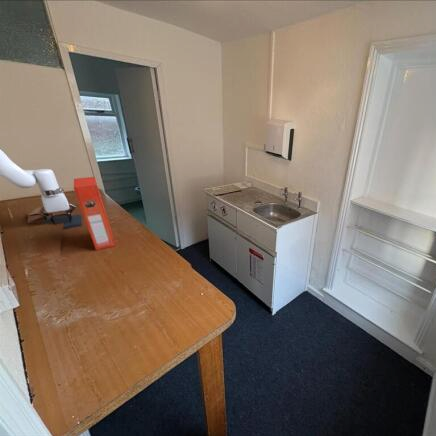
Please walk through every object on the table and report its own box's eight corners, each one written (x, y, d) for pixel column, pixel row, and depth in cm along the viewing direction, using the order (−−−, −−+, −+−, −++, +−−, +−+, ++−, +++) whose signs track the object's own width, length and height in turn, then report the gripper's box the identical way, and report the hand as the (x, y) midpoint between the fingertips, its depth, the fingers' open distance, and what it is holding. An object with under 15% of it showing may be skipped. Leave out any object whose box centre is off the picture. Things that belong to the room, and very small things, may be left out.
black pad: (55, 225, 131) (53, 218, 130) (56, 221, 136) (53, 215, 134) (69, 222, 135) (67, 216, 133) (70, 219, 139) (67, 213, 137)
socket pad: (42, 233, 125) (41, 230, 125) (45, 222, 137) (44, 219, 136) (81, 225, 135) (80, 223, 134) (81, 216, 146) (80, 214, 145)
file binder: (95, 250, 112) (73, 187, 100) (93, 236, 124) (73, 178, 111) (115, 245, 117) (97, 184, 104) (112, 232, 129) (95, 176, 116)
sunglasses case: (25, 214, 144) (29, 204, 144) (41, 217, 149) (45, 207, 149) (27, 223, 133) (32, 213, 133) (44, 226, 139) (48, 216, 139)
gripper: (72, 188, 135) (82, 216, 143) (29, 192, 125) (42, 222, 133) (71, 191, 130) (82, 220, 138) (27, 196, 120) (41, 227, 127)
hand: (62, 221), depth 135 cm, fingers closed on black pad, 6 cm apart
